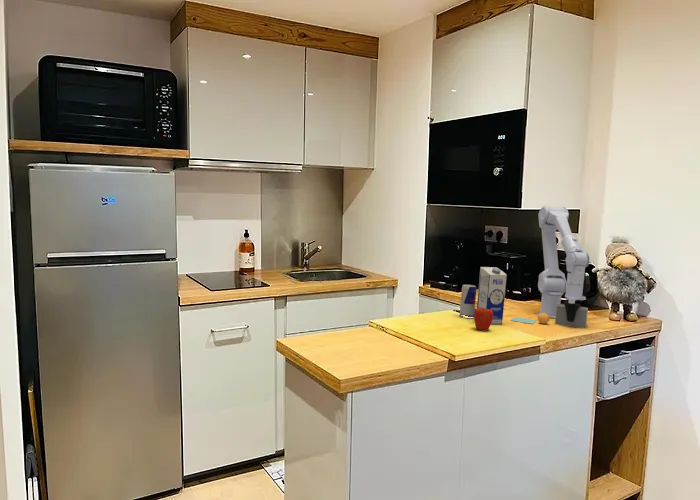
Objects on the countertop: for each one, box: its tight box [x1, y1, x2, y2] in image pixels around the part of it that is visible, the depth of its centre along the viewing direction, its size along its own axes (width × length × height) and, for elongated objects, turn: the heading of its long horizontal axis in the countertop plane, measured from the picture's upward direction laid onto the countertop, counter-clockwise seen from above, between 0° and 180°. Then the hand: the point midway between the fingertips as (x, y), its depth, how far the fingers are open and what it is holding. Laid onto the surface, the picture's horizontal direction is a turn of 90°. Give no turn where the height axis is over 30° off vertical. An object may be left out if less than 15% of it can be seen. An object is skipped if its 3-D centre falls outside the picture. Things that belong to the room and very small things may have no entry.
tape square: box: [510, 316, 537, 325], centre depth 197 cm, size 8×8×1 cm
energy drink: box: [459, 284, 477, 317], centre depth 196 cm, size 5×5×12 cm
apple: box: [473, 307, 493, 331], centre depth 177 cm, size 6×6×8 cm
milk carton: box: [476, 266, 508, 325], centre depth 189 cm, size 7×7×20 cm
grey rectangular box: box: [555, 303, 589, 329], centre depth 194 cm, size 6×10×7 cm, turn 62°
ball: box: [537, 313, 550, 325], centre depth 193 cm, size 4×4×4 cm
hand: (571, 320), depth 194 cm, fingers closed on grey rectangular box, 6 cm apart
